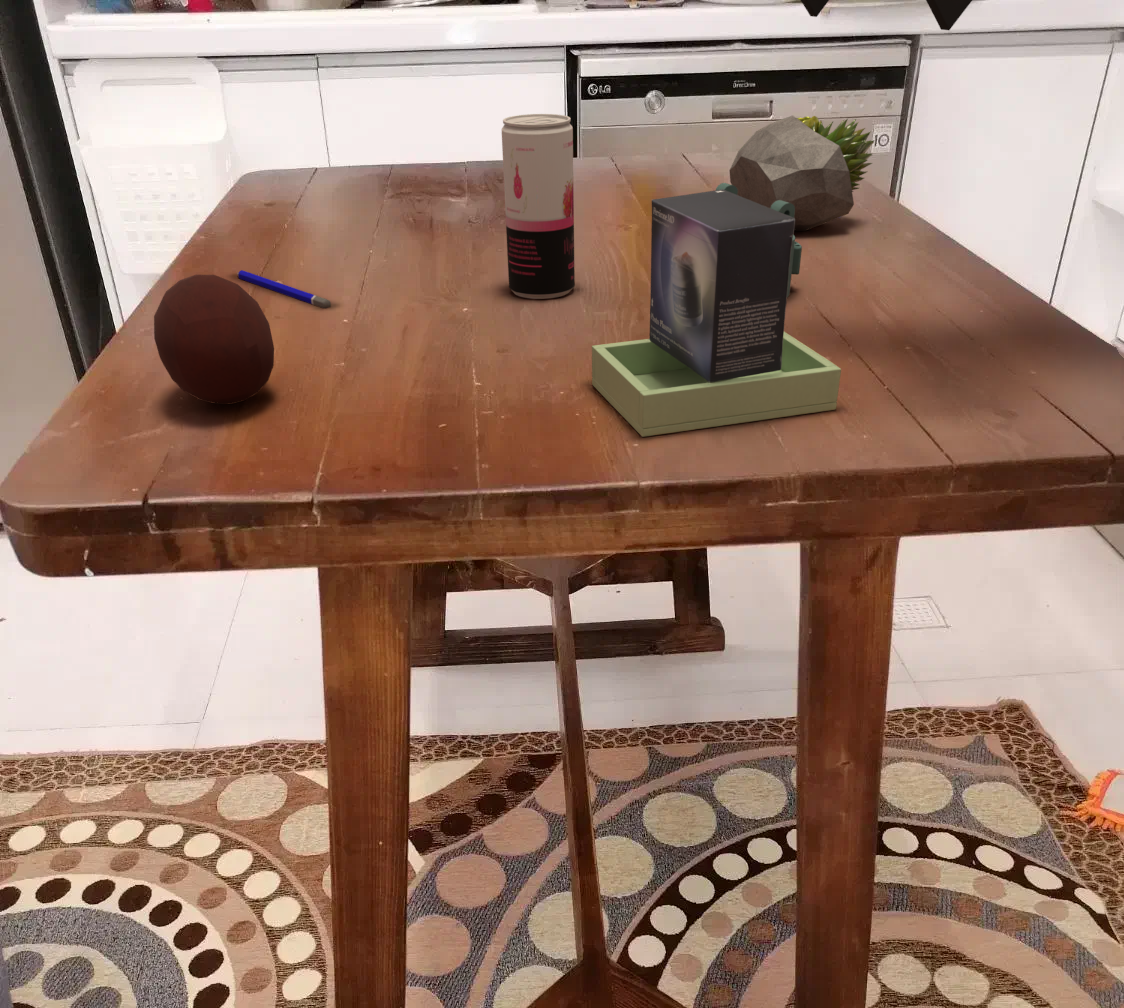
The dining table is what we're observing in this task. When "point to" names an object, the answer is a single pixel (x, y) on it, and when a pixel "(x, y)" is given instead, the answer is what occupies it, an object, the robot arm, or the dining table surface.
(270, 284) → the pencil
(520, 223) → the beverage can
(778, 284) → the small box
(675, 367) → the tray
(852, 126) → the potted plant
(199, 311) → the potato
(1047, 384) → the dining table surface
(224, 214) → the dining table surface
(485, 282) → the dining table surface
